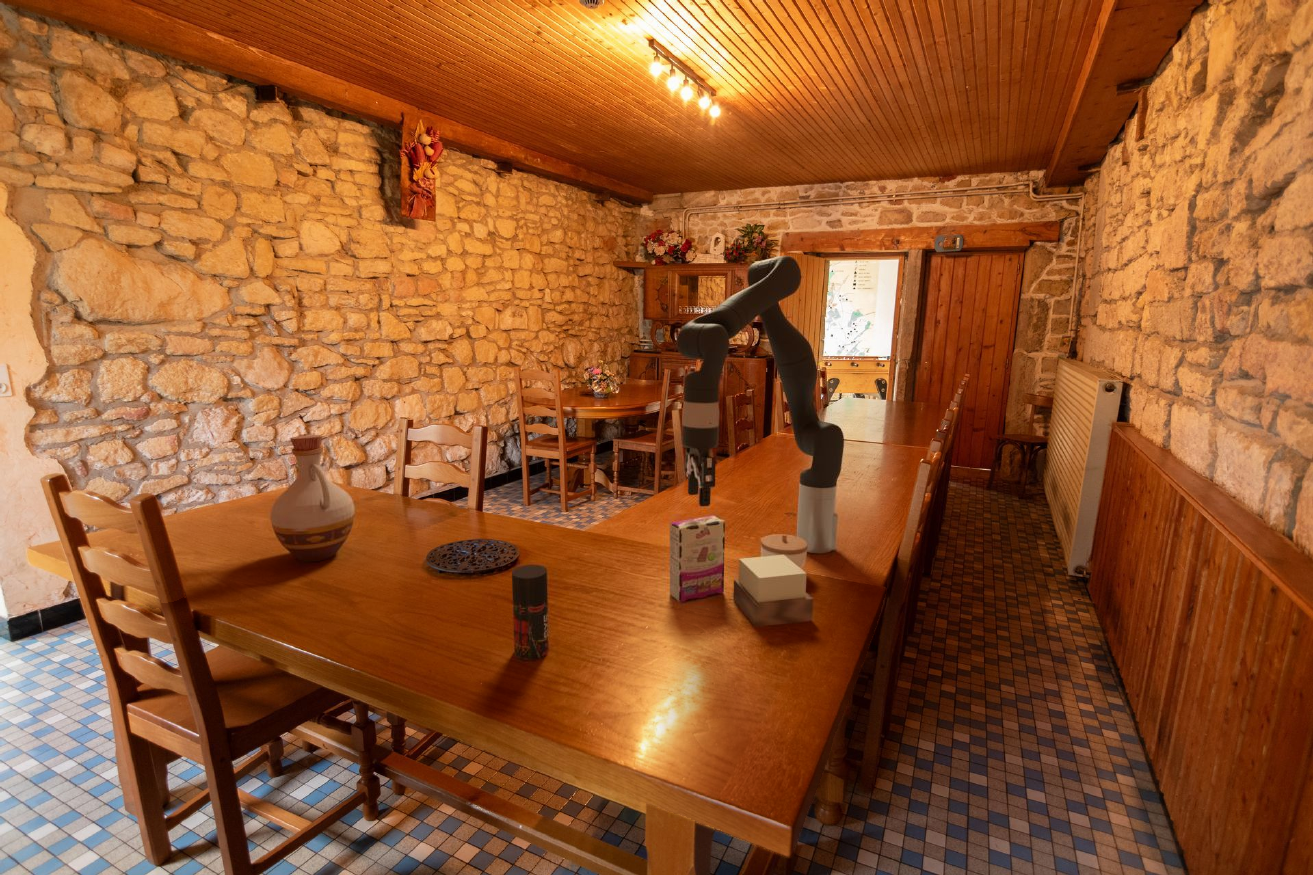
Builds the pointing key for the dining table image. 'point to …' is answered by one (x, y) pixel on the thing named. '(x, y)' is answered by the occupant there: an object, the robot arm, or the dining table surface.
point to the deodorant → (530, 612)
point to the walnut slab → (772, 608)
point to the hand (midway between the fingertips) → (698, 499)
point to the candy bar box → (697, 558)
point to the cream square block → (772, 578)
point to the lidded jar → (785, 547)
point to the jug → (312, 507)
